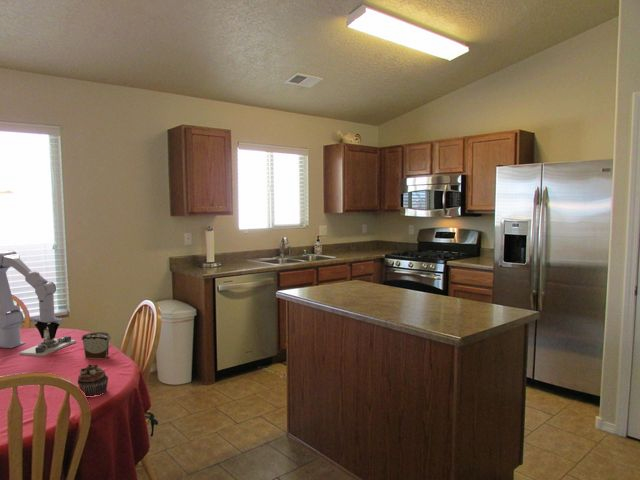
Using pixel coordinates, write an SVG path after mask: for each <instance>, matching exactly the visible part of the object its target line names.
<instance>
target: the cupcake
mask: <svg viewBox="0 0 640 480" xmlns="http://www.w3.org/2000/svg"><path fill="white" fill-rule="evenodd" d="M108 383H109V376H107V374H106V371H105V370H103V369H102V368H101V367H100V366H98V364H96V365H95V364H94V365H92V364H88V365H87V366H86V367H85V368H81V369H80V370H79V375H78V376H77V385H78V388H79V390H80V389H81V390H82V391H83V392H84V393H85V395H86V396H94V395H100V394H102V393H104V394H106V393H105V391H106V392H107V387H108Z"/></svg>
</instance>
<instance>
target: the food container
mask: <svg viewBox="0 0 640 480" xmlns="http://www.w3.org/2000/svg"><path fill="white" fill-rule="evenodd" d="M111 337H112V336H111V334H110V333H109V332H106V331H96V332H94V331H93V332H89V333H84V334H82V335H81V341H82V344H83V351H84V358H85V359H93V360H95V359H98V360H107V359H108V357H109V346H110V341H111V339H112V338H111Z"/></svg>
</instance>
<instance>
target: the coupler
mask: <svg viewBox="0 0 640 480" xmlns="http://www.w3.org/2000/svg"><path fill="white" fill-rule="evenodd" d="M43 333H44V338H43V341H44V343H51V342H54V339H55V338H53V339H50V334H49V329H48V327H47V328H45V329H43Z"/></svg>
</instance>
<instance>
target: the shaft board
mask: <svg viewBox="0 0 640 480" xmlns="http://www.w3.org/2000/svg"><path fill="white" fill-rule="evenodd" d="M57 339H58V338H54V342H51V343H44V340H43V341H41V342H38V344H36V345H35V346H31V347H30V348H27V349H24V350H21V351H19V352H18V354H19V355H21V356H23V355H24V356H35V357H45V356H47V355H49V354H53V353H54V352H57V351H58V350H61V349H63V348H65V347H68V346H71V345H72V344H75V343H77V340H76V339H71V341H69V342H62V343H59V341H58V340H57ZM43 344H46V345H47V349H45V351H44V352H43V353H36V349H35V348H36V347H40V346H41V345H43ZM70 344H71V345H70Z"/></svg>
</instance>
